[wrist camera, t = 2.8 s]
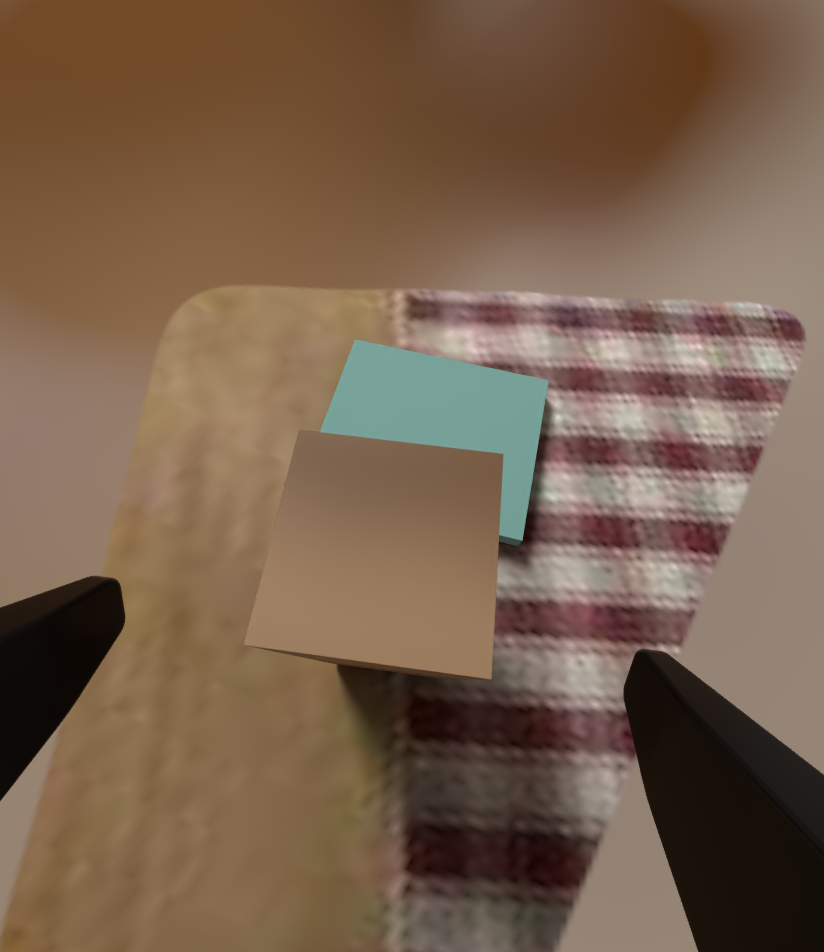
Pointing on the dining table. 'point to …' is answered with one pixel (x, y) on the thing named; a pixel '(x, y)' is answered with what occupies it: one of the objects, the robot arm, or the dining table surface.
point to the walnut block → (384, 557)
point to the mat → (445, 413)
